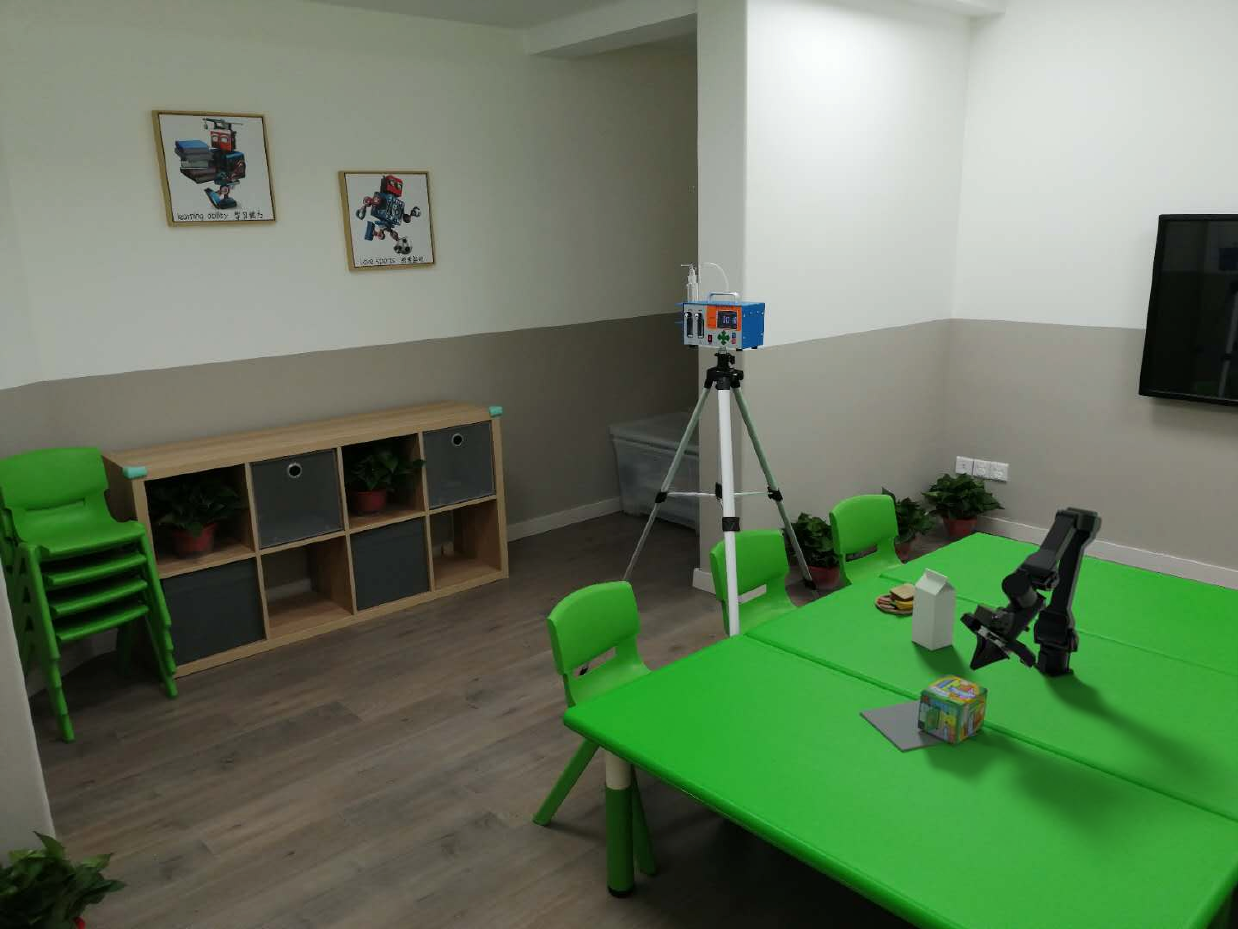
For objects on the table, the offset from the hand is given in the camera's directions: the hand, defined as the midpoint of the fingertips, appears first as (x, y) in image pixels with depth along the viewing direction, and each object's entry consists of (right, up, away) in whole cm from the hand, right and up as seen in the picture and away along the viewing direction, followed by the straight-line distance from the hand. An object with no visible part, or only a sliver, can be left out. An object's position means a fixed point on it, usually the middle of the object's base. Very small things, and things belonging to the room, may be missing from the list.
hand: (971, 668), depth 201 cm
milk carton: (+4, -1, +36) cm, 37 cm away
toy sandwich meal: (+2, +4, +59) cm, 60 cm away
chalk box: (-1, -6, -1) cm, 6 cm away
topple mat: (-12, -12, -1) cm, 17 cm away
